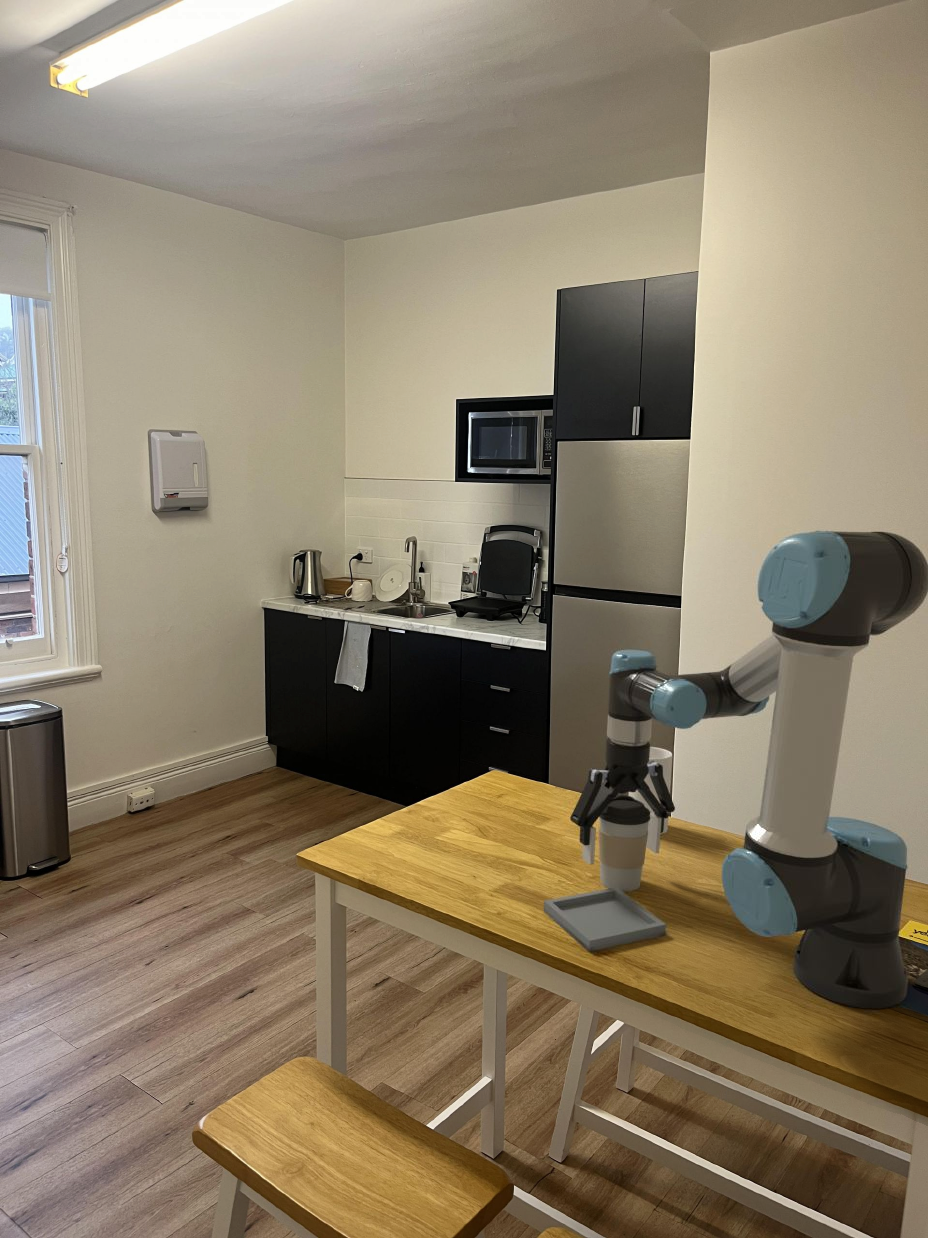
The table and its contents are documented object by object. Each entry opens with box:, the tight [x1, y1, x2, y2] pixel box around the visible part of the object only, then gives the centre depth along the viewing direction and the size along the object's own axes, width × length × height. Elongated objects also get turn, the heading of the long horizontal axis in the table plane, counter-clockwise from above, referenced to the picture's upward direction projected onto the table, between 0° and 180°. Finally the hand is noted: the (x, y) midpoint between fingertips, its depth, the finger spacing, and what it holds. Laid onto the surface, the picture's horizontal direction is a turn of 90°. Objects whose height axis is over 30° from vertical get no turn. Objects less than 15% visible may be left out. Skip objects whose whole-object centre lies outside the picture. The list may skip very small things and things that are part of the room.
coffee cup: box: [598, 794, 650, 892], centre depth 160 cm, size 9×9×15 cm
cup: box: [628, 746, 673, 835], centre depth 186 cm, size 8×8×16 cm
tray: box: [543, 887, 667, 953], centre depth 146 cm, size 14×14×2 cm
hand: (620, 856), depth 161 cm, fingers open, 13 cm apart
